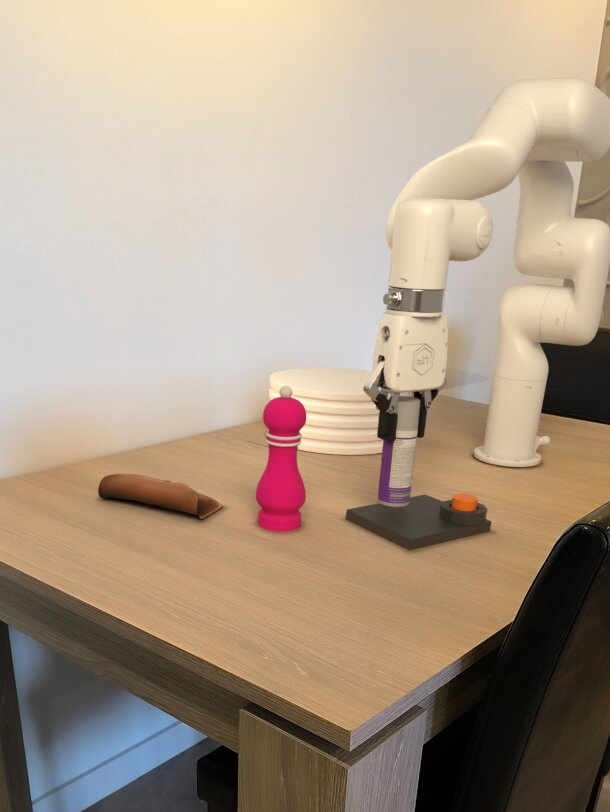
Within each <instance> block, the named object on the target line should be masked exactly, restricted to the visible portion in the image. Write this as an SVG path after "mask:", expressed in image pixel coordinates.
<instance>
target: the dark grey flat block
mask: <svg viewBox="0 0 610 812" xmlns="http://www.w3.org/2000/svg"><path fill="white" fill-rule="evenodd" d="M451 505H452V499H448V500H444V501H443V500H440V499H438V498H435V497H432V496H431V495H428V494H420V495H415V496H410V501H409V504H408V505H407V506H403V507H391V506H386V505H383V504H380V503H379V502H377V503H374V504H368V505H367V504H366V505H363V506H358V507H352V508H347V509H346V513H345V521H347V522H349V523H352V524H353V525H356V526H358V527H360V528H362V529H364V530H366V531H369V532H370V533H372V534H374V535H376V536H377V537H381V538H383V539H384V540H387V541H389V542H390V543H392V544H395V545H397V546H399V547H401V548H403V549H405V550H407V551H413V550H418V549H421V548H426V547H432V546H434V545H439V544H442V543H447V542H451V541H455V540H460V539H464V538H468V537H473V536H477V535H482V534H485V533H490V532H491V527H492V520H490V519H487V514H488V508H487V507H486V506H485V504H482V503H480V502H477V508H476V511H460V510H456V509H454V508H451Z"/></svg>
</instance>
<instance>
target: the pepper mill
mask: <svg viewBox="0 0 610 812" xmlns="http://www.w3.org/2000/svg"><path fill="white" fill-rule="evenodd" d="M279 394H280V396H281V397H277V398H274V399H272V400H271V399H270V400H271V401H270V400H269V401H268V402H267V403H266V405H265V406H264V408H263V413H262V421H263V424H264V426H265V427H266V428H267V431H266V432H265V436H266V438H265V442H266V444H267V445H268V457H267V462H266V466H265V468H264V471H263V473H262V475H261V477H260V479H259V481H258V483H257V486H256V490H255V500H256V503H257V505H258V506H259V508H261V509H260V510H259V511H258V515H257V524H258V526H259V527H260V528H262V529H265V530H268V531H272V532H291V531H295V530H298V529H299V528H300V527H301V525H302V513H301V511H299V510H300V509H301V508H302V507H304V504H305V503H306V500H307V495H306V492H307V491H306V487H305V483H304V480H303V478H302V475H301V473H300V469H299V466H298V445H300V444H301V437H302V434H301V433H300V432H299V431H300V430H301V429H302V428H303V426H304V425H305V423H306V410H305V408H304V406H303V404H302V403H301V402H300V401H298V400H297V399H295V398H291V396H292V389H291V388H290V387H289V386H283V387H281V389H280V391H279ZM268 430H269V431H268Z"/></svg>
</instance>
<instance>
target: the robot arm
mask: <svg viewBox="0 0 610 812" xmlns="http://www.w3.org/2000/svg"><path fill="white" fill-rule="evenodd" d="M609 149H610V97H609V96H607V95H606V93H604V92H603V91H602V90H600V88H599V87H598V86H596V85H595V84H593V83H592V82H589V81H588V80H587V79H584V78H579V77H555V78H527V79H521V80H516V81H513V82H511V83H509V84H508V85H506V86H504V87H503V88H502V89H501V90H500V91H499V93H498V94H497V95H496V97H495V98H494V100H493V101H492V103H491V104H490V106H489V107H488V109H487V111H486V112H485V113H484V115H483V117H482V118H481V119H480V121H479V123H478V124H477V126H476V128H475V129H474V130H473V132H472V134H470V137H469V138H468V140H467V141H466V142H464V143H462V144H460V145H457V146H456V147H454V148H452V149H451V150H449V151H447V152H445V153H443V154H442V155H440V156H439V157H436V158H434V159H433V160H431V161H430V162H428V163H426V164H425V165H423V166H422V167H421V168H419V169H418V170H417V171H416V172H415V173H413V175H412V176H410V178H409V179H408V181H406V183H405V184H404V186H403V188H402V189H401V190H400V192H399V194H398V196H397V197H396V199H395V201H394V202H393V204H392V205H391V208H390V210H389V212H388V216H387V219H386V224H385V239H386V242H387V246H388V247H389V249H390V250H391V254H390V264H389V265H390V266H389V273H388V274H389V276H388V283H387V284H388V285H387V293H385V294H383V296H382V302H383V305H386V308H385V312H384V311H383V313H382V315H381V320H380V321H379V326H378V330H377V336H376V340H375V345H374V351H373V358H372V369H371V371H372V374H371V376H370V377H369V379H368V380H367V382H366V384H365V385H364V387H363V391H364V392H365V393H366V394H367V395H368V396H369V397H371V399H372V401H373V402H374V403H375V405H376V409H377V410H380V411H379V421H378V431H377V437H378V438H380V439H382V440H385V441H388V442H394V441H395V438H396V429H397V420H398V414H397V413H394V412H395V409H396V406H397V402H398V399H399V395H400V393H405V392H409V393H411V397H414V398H418V399H420V410H419V421H418V433H417V439H422V438H424V437H425V433H426V432H425V431H426V423H427V415H428V410H430V409H432V405H433V401H434V400H435V398H436V397H437V396H438V394H439V393H440V391H442V389H444V387H445V386H446V385H447V378H446V373H447V364H448V363H447V362H448V349H449V348H448V347H449V346H448V345H449V329H448V318H447V317H448V316H447V314H446V313H444V305H445V296H446V288H447V281H448V273H449V266H450V265H449V264H450V262H470V261H473V260H476V259H477V258H479V257H480V256H481V255H482V254H484V252H485V251H486V250H487V249H488V247H489V245H490V243H491V241H492V238H493V233H494V222H493V216H492V214H491V212H490V210H489V209H488V207H486V205H484V204H483V203H481V202H479V201H476V200H477V199H481V198H484V197H487V196H490V195H492V194H496V193H497V192H501V191H502V190H504V189H506V188H507V187H509V186H511V184H512V183H513V182H514V180H515V179H516V178H518V182H519V184H518V185H519V199H518V200H519V201H518V211H517V217H516V218H517V219H516V229H515V237H514V244H513V245H514V247H513V264H514V267H515V270H516V271H517V272H518V273H520V274H523V275H526V276H530V277H538V278H549V279H562V280H570V281H572V282H573V286H574V287H571V286H562V285H561V286H559V285H553V284H541V283H519V284H516V285H513V286H510V287H509V288H507V290H505V291H504V293H503V294H502V296H501V297H500V300H499V304H498V310H497V324H498V325H497V351H496V357H495V358H496V359H495V366H494V371H493V372H494V373H493V377H492V385H491V392H490V398H489V405H488V412H487V417H486V424H485V425H486V426H485V430H484V437H483V438H484V439H483V445H480V446H476V447H475V448H474V449H473V457H474V458H475V459H476V460H479V461H481V462H483V463H486V464H490V465H494V466H499V467H500V466H501V467H509V468H531V467H535V466H538V465H539V464H541V461H542V456H541V454H540V453H538V452H537V450H538V449H539V447H540V448H541V447H547V446H548V445H549V444H550V443H551V439H550V437H549V436H548V435H543V436H539V435H538V432H539V431H538V430H539V425H540V420H541V416H542V415H541V414H542V409H543V403H544V397H545V392H546V386H547V380H548V375H549V362H548V359H547V356H546V354H545V352H544V350H543V347H542V345H541V344H543V343H547V344H555V345H564V346H571V347H572V346H574V347H582V346H585V345H588V344H589V343H591V341H593V340H594V338H595V337H596V334H597V332H598V329H599V326H600V322H601V318H602V313H603V306H604V300H605V295H606V288H607V283H608V276H609V270H610V226H609V225H608V224H607V223H606V221H604V220H601V219H598V218H588V217H587V218H585V217H573V216H572V213H571V211H572V203H573V197H574V187H575V185H574V179H573V175H572V173H571V171H570V168H569V166H568V165H567V163H566V162H569V163H570V162H572V163H573V162H578V163H579V162H580V163H588V162H589V163H590V162H595V161H598V160H600V159H601V158H603V157H604V156H605V155H606V154H607V152H608V151H609ZM540 343H541V344H540ZM379 387H380V388H381V389H380V391H379ZM388 393H391V394H390V398H389V400H388V399H387V397H388Z"/></svg>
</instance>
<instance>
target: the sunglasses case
mask: <svg viewBox="0 0 610 812" xmlns="http://www.w3.org/2000/svg"><path fill="white" fill-rule="evenodd" d="M97 492H98V496H99V498H101V499H104V498H110V499H118V500H121V499H123V500H125V501H135V502H138V503H143V504H147V505H152V506H158V507H161V508H164V509H169V510H173V511H178V512H181V513H187V514H190V515H194V516H195V515H196V516H197V518H198V519H200V520H204V519H206V518H208V517H211V516H212V515H214V514H215V513H216V512H218V511H220V510H221V509H222V508H223V504H222V503H220V502H219V501H218V500H216V499H214V498H213V497H211V496H209V495H205V494H203V493H201V492H197V491H196V490H195V489H193V488H192V487H190V486H189V485H187V484H186V483H183V482H180V481H178V482H177V481H171V480H169V479H159V478H155V477H151V476H148V475H143V474H137V473H114V474H113V473H112V474H107V475H105V476H103V478H102V479H100V482H99V484H98V488H97Z"/></svg>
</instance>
